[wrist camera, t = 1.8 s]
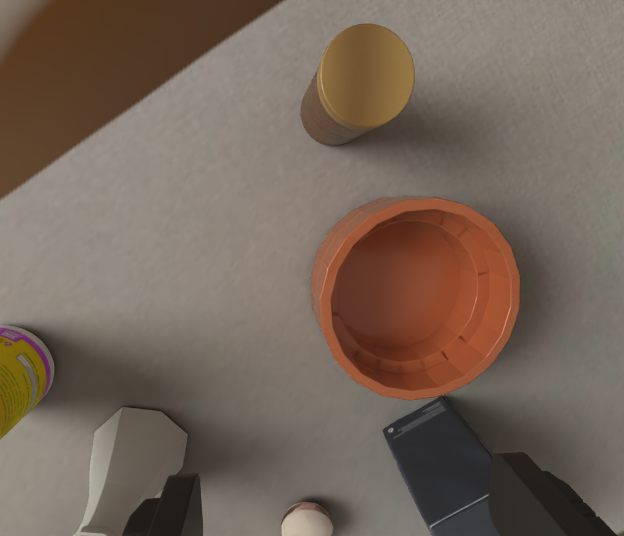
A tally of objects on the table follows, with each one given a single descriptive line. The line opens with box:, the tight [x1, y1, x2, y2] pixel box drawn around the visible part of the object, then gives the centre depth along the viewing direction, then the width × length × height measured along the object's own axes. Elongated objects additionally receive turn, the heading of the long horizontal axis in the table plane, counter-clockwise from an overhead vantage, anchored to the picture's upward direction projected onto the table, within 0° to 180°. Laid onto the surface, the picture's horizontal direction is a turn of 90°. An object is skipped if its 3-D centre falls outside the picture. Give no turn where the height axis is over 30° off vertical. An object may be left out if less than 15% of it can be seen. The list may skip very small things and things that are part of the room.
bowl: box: [310, 196, 520, 400], centre depth 30 cm, size 13×13×6 cm
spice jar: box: [301, 24, 415, 146], centre depth 25 cm, size 5×5×10 cm
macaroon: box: [281, 502, 333, 536], centre depth 35 cm, size 4×5×2 cm
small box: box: [383, 396, 500, 536], centre depth 31 cm, size 11×6×10 cm, turn 28°
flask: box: [73, 407, 188, 536], centre depth 28 cm, size 7×7×10 cm
